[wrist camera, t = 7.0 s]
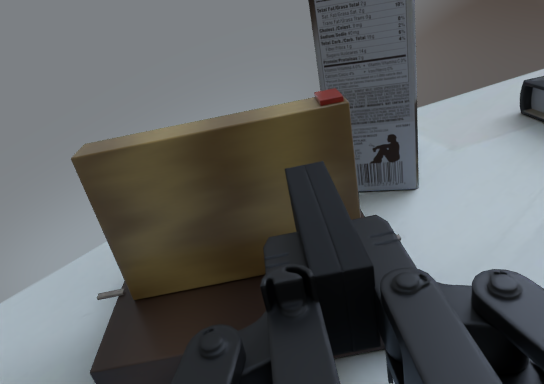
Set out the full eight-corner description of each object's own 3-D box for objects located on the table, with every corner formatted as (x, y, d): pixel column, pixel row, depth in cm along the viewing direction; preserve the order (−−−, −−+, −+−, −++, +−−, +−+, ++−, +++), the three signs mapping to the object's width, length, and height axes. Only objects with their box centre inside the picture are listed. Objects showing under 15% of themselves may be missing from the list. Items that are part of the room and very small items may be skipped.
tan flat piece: (133, 301, 21) (67, 153, 17) (140, 278, 23) (82, 138, 19) (365, 255, 21) (349, 95, 17) (356, 236, 23) (339, 86, 19)
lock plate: (81, 407, 18) (61, 375, 17) (132, 269, 27) (121, 242, 26) (441, 338, 18) (441, 301, 17) (374, 221, 27) (372, 192, 26)
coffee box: (341, 147, 39) (319, -48, 32) (414, 141, 37) (407, -68, 30) (330, 194, 31) (297, -48, 24) (421, 190, 29) (414, -75, 22)
